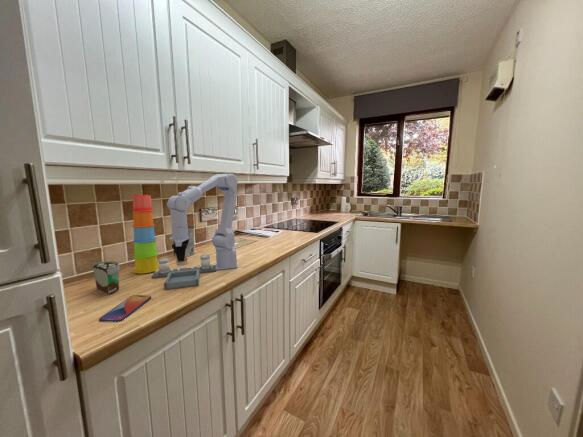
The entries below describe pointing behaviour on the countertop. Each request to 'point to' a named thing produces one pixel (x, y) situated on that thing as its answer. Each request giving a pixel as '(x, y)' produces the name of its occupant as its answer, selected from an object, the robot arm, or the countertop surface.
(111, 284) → the food container
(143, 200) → the stacking cups
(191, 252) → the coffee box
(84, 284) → the countertop surface
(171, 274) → the tray
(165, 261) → the ball
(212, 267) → the board
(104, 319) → the smartphone
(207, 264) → the cylinder
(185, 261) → the marked fuse
